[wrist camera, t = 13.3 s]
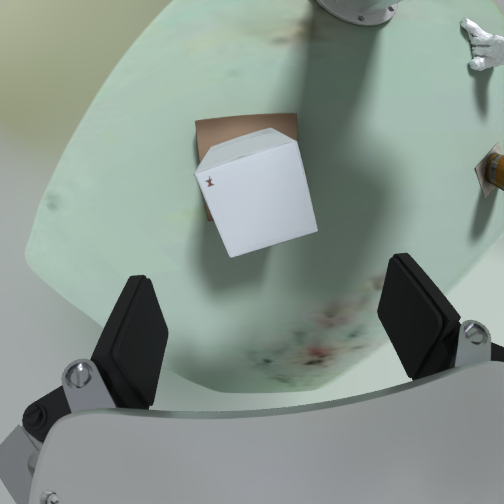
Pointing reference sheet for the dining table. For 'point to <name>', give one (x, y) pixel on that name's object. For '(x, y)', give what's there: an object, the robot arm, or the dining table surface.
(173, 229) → the dining table surface
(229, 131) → the walnut base
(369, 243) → the dining table surface
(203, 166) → the supplement box
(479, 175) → the condiment
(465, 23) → the sitting furry creature
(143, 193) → the dining table surface
